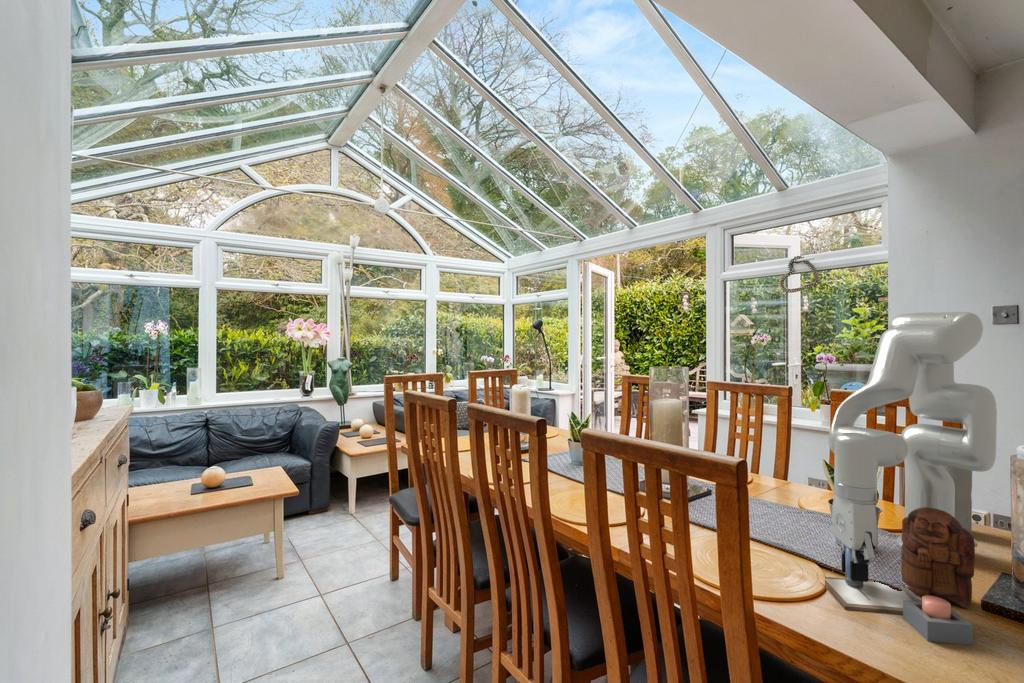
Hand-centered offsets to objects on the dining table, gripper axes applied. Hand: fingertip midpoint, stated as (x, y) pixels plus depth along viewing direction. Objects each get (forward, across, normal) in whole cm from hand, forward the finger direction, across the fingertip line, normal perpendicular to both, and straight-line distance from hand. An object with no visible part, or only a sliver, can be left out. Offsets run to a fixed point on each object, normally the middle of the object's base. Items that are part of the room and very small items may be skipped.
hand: (854, 575), depth 105 cm
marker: (+2, 0, 0) cm, 2 cm away
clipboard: (+3, +3, +2) cm, 4 cm away
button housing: (+3, +14, +7) cm, 16 cm away
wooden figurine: (+3, 0, +15) cm, 15 cm away
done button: (+1, +14, +7) cm, 16 cm away
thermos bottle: (+3, -37, +42) cm, 56 cm away
